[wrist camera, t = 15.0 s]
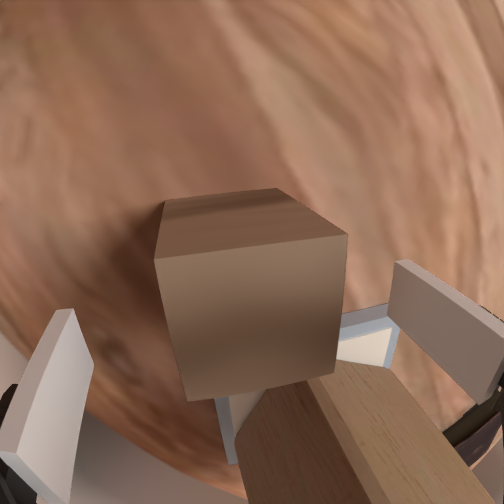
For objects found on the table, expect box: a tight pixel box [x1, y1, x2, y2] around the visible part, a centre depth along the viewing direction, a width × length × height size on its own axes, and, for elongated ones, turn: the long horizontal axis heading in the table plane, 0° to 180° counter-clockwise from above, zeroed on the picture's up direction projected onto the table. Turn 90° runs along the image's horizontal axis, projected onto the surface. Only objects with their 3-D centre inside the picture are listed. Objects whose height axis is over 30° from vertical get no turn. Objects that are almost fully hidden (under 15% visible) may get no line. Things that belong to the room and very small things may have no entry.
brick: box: [154, 188, 348, 402], centre depth 14 cm, size 6×6×8 cm
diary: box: [442, 385, 502, 467], centre depth 40 cm, size 19×25×5 cm
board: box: [214, 303, 400, 465], centre depth 23 cm, size 14×14×2 cm
